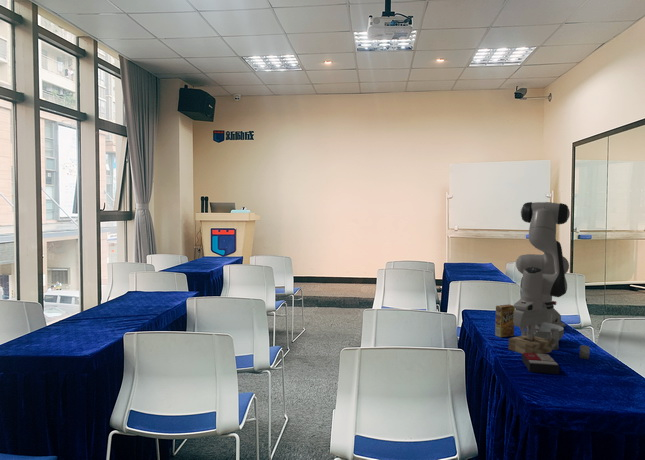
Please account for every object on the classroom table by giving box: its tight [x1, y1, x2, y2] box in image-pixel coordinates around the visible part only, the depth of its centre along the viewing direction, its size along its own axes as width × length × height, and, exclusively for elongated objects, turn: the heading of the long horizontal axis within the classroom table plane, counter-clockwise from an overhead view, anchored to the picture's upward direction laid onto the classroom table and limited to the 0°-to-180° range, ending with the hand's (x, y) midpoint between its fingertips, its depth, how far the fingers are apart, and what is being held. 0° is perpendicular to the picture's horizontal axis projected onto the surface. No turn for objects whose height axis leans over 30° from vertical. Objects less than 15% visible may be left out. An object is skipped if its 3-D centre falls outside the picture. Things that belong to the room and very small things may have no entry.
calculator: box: [521, 353, 560, 375], centre depth 190 cm, size 11×4×15 cm
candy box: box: [494, 304, 515, 338], centre depth 233 cm, size 9×4×15 cm, turn 113°
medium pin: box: [550, 328, 560, 351], centre depth 213 cm, size 4×4×9 cm
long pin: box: [525, 321, 535, 342], centre depth 210 cm, size 4×4×14 cm
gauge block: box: [507, 335, 553, 355], centre depth 210 cm, size 14×12×5 cm
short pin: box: [579, 344, 591, 360], centre depth 201 cm, size 4×4×5 cm
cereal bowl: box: [525, 323, 565, 341], centre depth 225 cm, size 17×17×7 cm
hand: (530, 334), depth 210 cm, fingers open, 8 cm apart
